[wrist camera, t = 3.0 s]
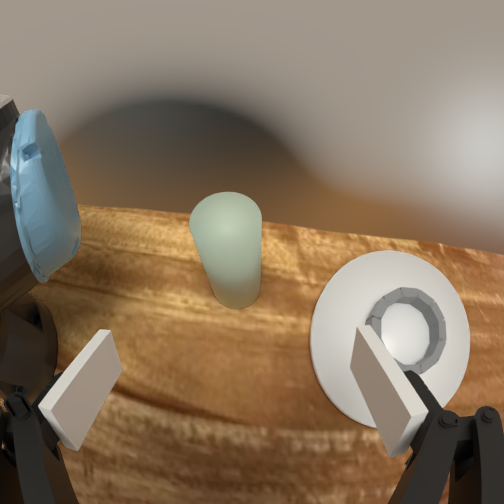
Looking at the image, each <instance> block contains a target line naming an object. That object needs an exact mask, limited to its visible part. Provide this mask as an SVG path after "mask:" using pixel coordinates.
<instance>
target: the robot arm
mask: <svg viewBox="0 0 504 504" xmlns="http://www.w3.org/2000/svg"><path fill="white" fill-rule="evenodd" d="M81 238H82V229H81V221H80V216H79V211H78V207H77V203H76V200H75V196H74V192H73V189H72V186H71V182H70V179H69V176H68V173H67V170H66V167H65V164H64V161H63V158H62V155H61V152H60V150H59V146H58V144H57V141H56V138H55V136H54V134H53V131H52V129H51V127H50V126H49V125H48V122H47V119H46V117H45V115H44V114H43V113H42V112H41V111H40V110H38V109H33V110H30V111H29V110H26V111H25V112H23V113H22V114H21V115H20V114H19V112H18V110H17V108H16V105H15V103H14V101H13V99H12V97H11V96H10V95H4V94H0V398H2V399H3V400H4V406H5V407H6V409H7V410H8V412H9V413H7V412H4V410H3V409H2V407H1V406H0V504H79V503H78V500H77V498H76V495H75V493H74V490H73V488H72V485H71V482H70V479H69V476H68V473H67V470H66V467H65V464H64V461H63V458H62V454H61V451H60V448H59V446H58V445H57V443H58V441H59V440H61V442H62V443H63V445H64V446H65V447H67V448H69V449H72V450H75V451H79V449H80V447H81V445H82V443H83V441H84V439H85V437H86V435H87V433H88V431H89V429H90V428H91V426H92V424H93V422H94V420H95V418H96V416H97V415H98V413H99V411H100V409H101V407H102V406H103V404H104V402H105V400H106V398H107V397H108V395H109V393H110V391H111V389H112V388H113V386H114V384H115V382H116V381H117V379H118V377H119V376H120V374H121V372H122V370H123V368H122V365H121V362H120V359H119V355H118V352H117V349H116V346H115V342H114V339H113V336H112V332H111V330H102V329H100V330H99V331H98V332H97V333H96V334H95V335H94V337H93V338H92V339H91V340H90V341H89V342H88V344H87V345H86V346H85V347H84V348H83V350H82V351H81V352H80V353H79V354H78V356H77V357H76V358H75V359H74V360H73V362H72V363H71V364H70V365H69V367H68V368H67V369H66V370H65V372H60V373H59V374H57V375H56V376H54V377H53V374H54V370H55V366H56V359H57V335H56V330H55V325H54V322H53V319H52V316H51V314H50V312H49V310H48V309H47V307H46V306H45V305H44V304H43V302H41V301H40V300H39V299H37V298H36V297H34V296H33V295H31V294H30V293H28V291H29V290H31V289H32V288H33V287H35V286H36V285H37V284H39V283H45V282H47V281H48V280H49V278H50V275H52V274H53V273H54V272H55V271H57V270H58V269H59V268H61V267H62V266H63V265H65V264H66V263H67V262H69V261H70V260H71V259H72V258H73V257H74V256H75V255H76V253H77V252H78V250H79V247H80V244H81ZM350 369H351V371H352V374H353V376H354V378H355V380H356V382H357V384H358V387H359V389H360V391H361V393H362V395H363V398H364V400H365V402H366V404H367V407H368V409H369V411H370V413H371V416H372V418H373V420H374V422H375V425H376V427H377V429H378V432H379V434H380V436H381V439H382V441H383V443H384V446H385V448H386V451H387V453H388V455H389V458H391V457H394V456H397V455H401V454H404V453H406V451H407V449H408V448H409V446H411V448H412V450H413V453H412V454H411V456H410V457H409V459H408V460H407V462H406V463H405V464H406V468H405V470H404V472H403V474H402V477H401V479H400V481H399V483H398V485H397V487H396V489H395V491H394V493H393V495H392V497H391V499H390V500H389V502H388V504H439V501H440V498H441V496H442V493H443V490H444V487H445V484H446V481H447V478H448V474H449V471H450V485H449V499H448V504H504V433H503V428H502V423H501V419H500V415H499V413H498V411H497V410H496V409H494V408H492V407H489V406H484V407H481V408H479V409H478V410H477V412H476V414H475V415H474V416H467V417H459V416H458V415H457V414H456V413H454V412H452V411H449V410H443V408H442V407H441V406H440V404H439V403H438V401H437V400H436V398H435V397H434V395H433V394H432V393H431V391H430V390H428V387H427V386H426V384H424V381H423V380H422V379H421V377H420V376H419V375H418V374H416V373H415V372H413V371H412V370H408V371H404V372H402V370H401V369H400V367H399V366H398V364H397V363H396V361H395V360H394V358H393V357H392V355H391V354H390V353H389V351H388V350H387V348H386V347H385V345H384V344H383V343H382V341H381V340H380V338H379V337H378V336H377V334H376V333H375V331H374V330H373V329H372V327H371V326H370V325H365V326H357V328H356V334H355V340H354V346H353V352H352V358H351V363H350ZM52 377H53V378H52ZM30 403H33V404H32V405H31V404H30ZM2 443H3V445H4V449H2Z"/></svg>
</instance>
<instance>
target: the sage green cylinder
mask: <svg viewBox="0 0 504 504" xmlns="http://www.w3.org/2000/svg"><path fill="white" fill-rule="evenodd" d="M189 226H190V231H191V234H192V237H193V239H194V242H195V245H196V248H197V250H198V253H199V256H200V258H201V261H202V264H203V266H204V269H205V271H206V274H207V277H208V279H209V282H210V284H211V287H212V289H213V292H214V295H215V297H216V298H217V300H218V301H219V302H220V303H221V304H222V305H224V306H226V307H228V308H232V309H241V308H245V307H247V306H249V305H251V304H252V303H253V302H254V301H255V300H256V299H257V297H258V295H259V293H260V287H261V229H262V218H261V212H260V210H259V208H258V206H257V205H256V204H255V202H254V201H253V200H251V199H250V198H249V197H247V196H245V195H242V194H239V193H235V192H222V193H217V194H213V195H211V196H209V197H207V198H205V199H204V200H202V201H201V202H200V203H199V204H198V205H197V206H196V207H195V208H194V210H193V212H192V214H191V216H190V222H189Z"/></svg>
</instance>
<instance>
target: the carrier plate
mask: <svg viewBox="0 0 504 504" xmlns="http://www.w3.org/2000/svg"><path fill="white" fill-rule="evenodd" d="M365 325H370V326H371V327H372V329H373V330H374V331H375V333H376V334H377V336H378V337H379V338H380V340H381V341H382V343H383V344H384V345H385V347H386V348H387V350H388V351H389V353H390V354H391V355H392V357H393V358H394V360H395V361H396V363H397V364H398V366H399V367H400V369H401V370H402V372H404V371H408V370H412V371H413V372H415V373H416V374H418V375H419V376H420V377H421V379H422V380H423V381H424V384H426V386H427V387H428V390H430V391H431V393H432V394H433V395H434V397H435V398H436V400H437V401H438V403H439V404H440V406H441V407H442V408H443V407H444V406H445V405H446V404H447V403H448V402H449V400H450V399H451V398H452V397H453V395H454V394H455V392H456V390H457V389H458V387H459V385H460V383H461V381H462V379H463V376H464V373H465V370H466V367H467V363H468V358H469V351H470V332H469V324H468V320H467V315H466V312H465V309H464V306H463V304H462V302H461V300H460V297H459V295H458V294H457V292H456V290H455V289H454V287H453V286H452V285H451V283H450V282H449V281H448V279H447V278H446V277H445V276H444V275H443V274H442V273H441V272H440V271H439V270H437V269H436V268H435V267H434V266H433V265H431V264H429V263H428V262H426V261H425V260H423V259H421V258H419V257H417V256H414V255H411V254H408V253H404V252H399V251H388V250H387V251H376V252H371V253H368V254H365V255H362V256H359V257H357V258H355V259H354V260H352V261H350V262H349V263H347V264H346V265H344V266H343V267H342V268H341V269H340V270H339V271H338V272H337V273H336V274H335V275H334V276H333V277H332V278H331V280H330V281H329V282H328V283H327V285H326V287H325V288H324V290H323V292H322V294H321V295H320V297H319V299H318V302H317V304H316V306H315V309H314V312H313V316H312V319H311V326H310V335H309V347H310V356H311V361H312V365H313V369H314V372H315V375H316V377H317V380H318V382H319V384H320V386H321V388H322V390H323V391H324V393H325V394H326V396H327V397H328V398H329V400H330V401H331V402H332V403H333V404H334V405H335V406H336V407H337V408H338V409H339V410H340V411H341V412H342V413H343V414H345V415H346V416H348V417H349V418H351V419H353V420H354V421H356V422H358V423H361V424H364V425H367V426H370V427H374V428H377V427H376V425H375V422H374V420H373V418H372V416H371V413H370V411H369V409H368V407H367V404H366V402H365V400H364V398H363V395H362V393H361V391H360V389H359V387H358V384H357V382H356V380H355V378H354V376H353V374H352V371H351V369H350V363H351V358H352V352H353V346H354V340H355V334H356V328H357V326H365Z"/></svg>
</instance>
